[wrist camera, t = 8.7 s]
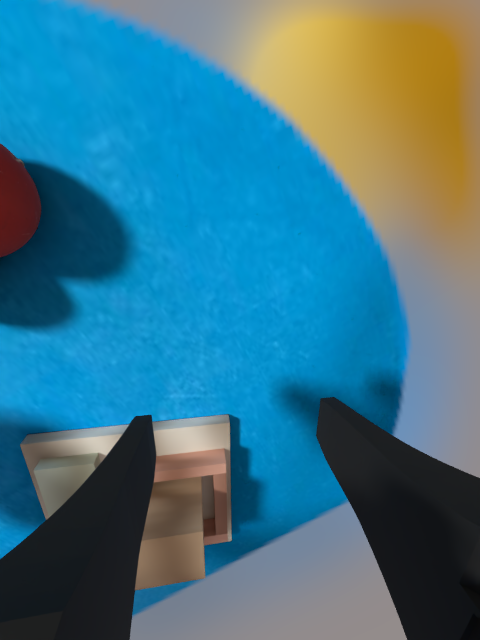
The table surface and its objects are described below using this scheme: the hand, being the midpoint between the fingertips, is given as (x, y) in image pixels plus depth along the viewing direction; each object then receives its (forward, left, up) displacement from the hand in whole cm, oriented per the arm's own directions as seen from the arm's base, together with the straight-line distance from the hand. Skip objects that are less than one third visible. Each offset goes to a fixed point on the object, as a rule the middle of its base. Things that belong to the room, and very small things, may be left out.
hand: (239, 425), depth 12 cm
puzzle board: (-7, -14, -9) cm, 18 cm away
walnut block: (-4, -14, -8) cm, 17 cm away
